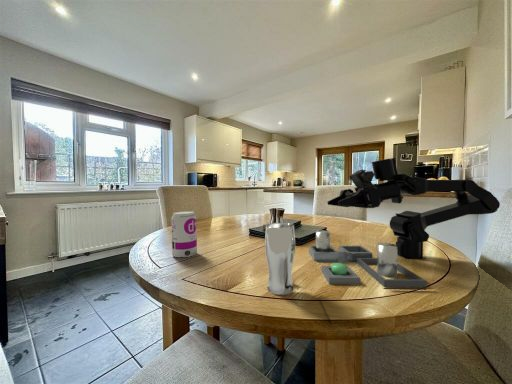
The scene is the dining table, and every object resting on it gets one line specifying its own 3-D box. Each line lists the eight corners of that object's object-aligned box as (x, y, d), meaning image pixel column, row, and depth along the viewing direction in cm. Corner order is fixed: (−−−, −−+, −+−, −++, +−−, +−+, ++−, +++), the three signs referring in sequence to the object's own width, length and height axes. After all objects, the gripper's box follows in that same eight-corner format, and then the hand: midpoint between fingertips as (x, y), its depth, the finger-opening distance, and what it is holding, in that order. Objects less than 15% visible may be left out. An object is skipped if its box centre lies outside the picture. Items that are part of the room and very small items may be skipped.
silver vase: (288, 299, 44) (287, 229, 44) (259, 291, 48) (259, 226, 47) (299, 286, 50) (299, 224, 49) (273, 279, 54) (273, 221, 53)
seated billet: (327, 254, 69) (327, 230, 69) (332, 259, 65) (332, 233, 64) (314, 254, 69) (314, 230, 69) (317, 259, 65) (317, 233, 65)
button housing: (348, 275, 55) (348, 266, 55) (359, 288, 48) (359, 277, 48) (321, 275, 56) (321, 265, 56) (329, 288, 49) (329, 277, 49)
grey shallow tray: (359, 254, 71) (359, 244, 71) (374, 266, 61) (374, 254, 61) (308, 254, 72) (308, 244, 72) (315, 265, 62) (314, 254, 62)
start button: (343, 270, 54) (343, 262, 54) (349, 276, 50) (349, 268, 50) (329, 270, 54) (329, 262, 54) (334, 276, 50) (334, 268, 50)
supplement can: (201, 253, 75) (201, 211, 74) (182, 260, 68) (181, 214, 67) (186, 249, 79) (185, 210, 79) (167, 256, 72) (166, 213, 72)
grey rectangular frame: (388, 266, 61) (389, 258, 61) (426, 291, 47) (426, 280, 47) (356, 266, 61) (356, 258, 61) (384, 291, 47) (384, 280, 47)
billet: (390, 272, 56) (390, 242, 56) (401, 279, 52) (401, 247, 51) (373, 271, 56) (374, 242, 56) (382, 279, 52) (383, 247, 52)
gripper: (358, 172, 77) (317, 181, 77) (391, 163, 59) (338, 175, 58) (366, 201, 77) (325, 211, 76) (401, 201, 58) (348, 214, 58)
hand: (332, 203), depth 67 cm, fingers open, 9 cm apart
